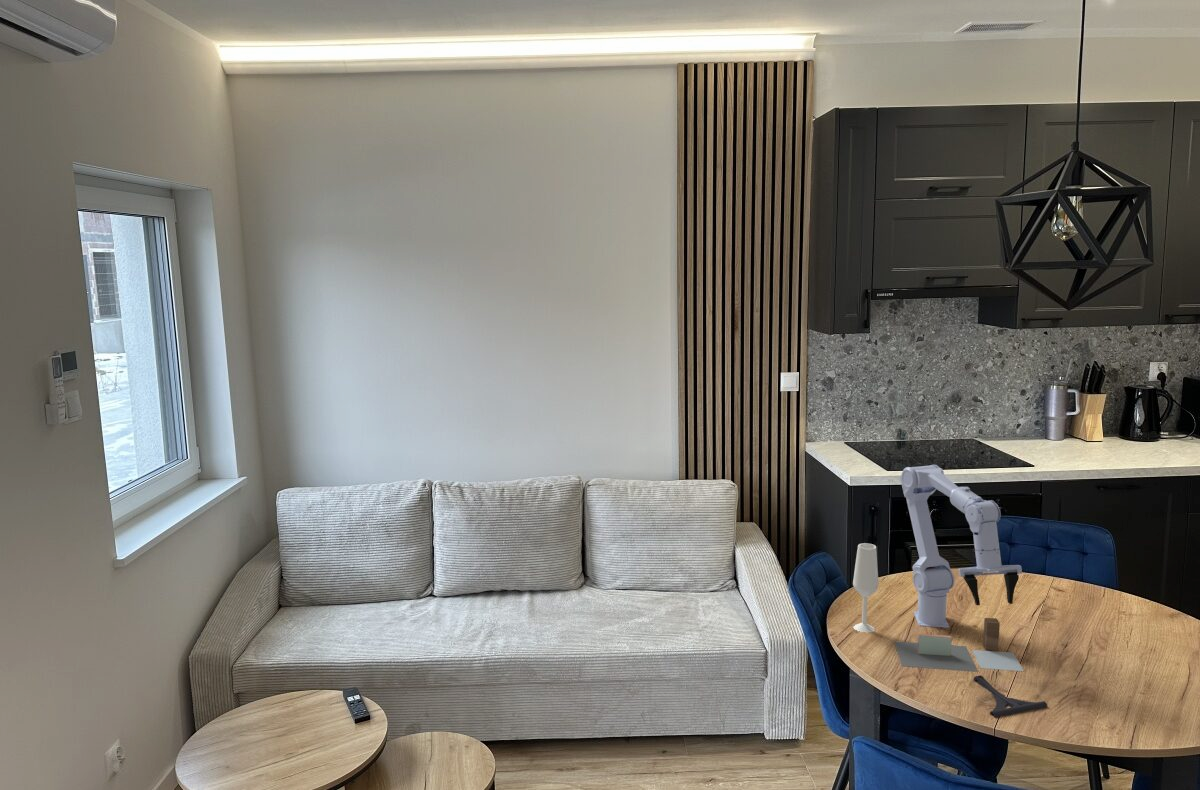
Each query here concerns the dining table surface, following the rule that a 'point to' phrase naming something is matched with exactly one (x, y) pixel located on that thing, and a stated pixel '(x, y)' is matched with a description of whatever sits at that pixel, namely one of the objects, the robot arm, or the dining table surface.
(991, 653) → the rest pad
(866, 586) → the champagne flute
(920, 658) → the slate mat
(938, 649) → the tile
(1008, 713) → the bracket
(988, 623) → the walnut stick
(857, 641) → the dining table surface
